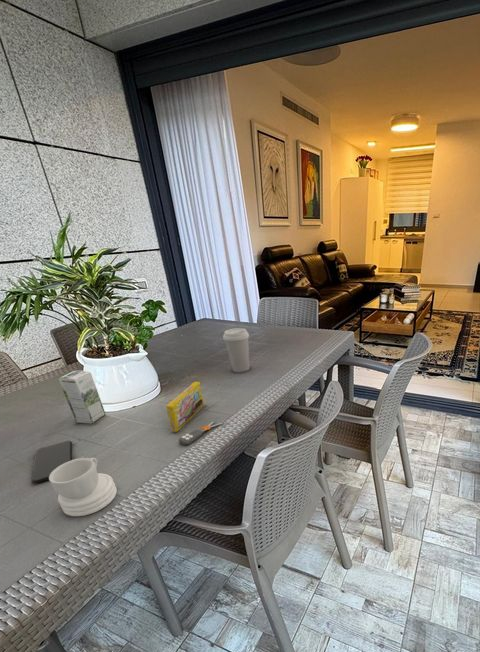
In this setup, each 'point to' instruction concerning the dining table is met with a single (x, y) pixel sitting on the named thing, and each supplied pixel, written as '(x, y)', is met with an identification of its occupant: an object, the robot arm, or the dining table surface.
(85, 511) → the coaster
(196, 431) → the key chain
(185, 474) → the dining table surface
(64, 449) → the smartphone
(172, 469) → the dining table surface
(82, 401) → the syrup box
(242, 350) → the coffee cup
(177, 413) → the candy box
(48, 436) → the dining table surface
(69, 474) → the teacup
